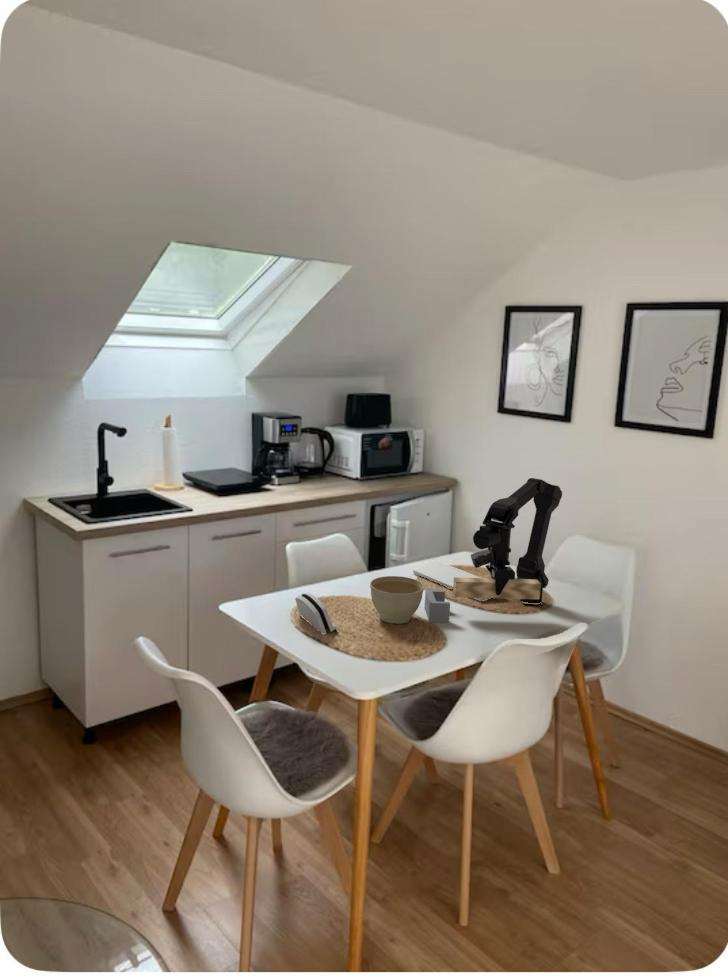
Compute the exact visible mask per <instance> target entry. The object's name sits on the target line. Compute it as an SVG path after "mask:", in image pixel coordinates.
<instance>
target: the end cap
mask: <svg viewBox="0 0 728 977" xmlns="http://www.w3.org/2000/svg"><path fill="white" fill-rule="evenodd" d="M424 591H425V593H424V595H425V596H424V610H425V614H426V617H427V620H428V622H429V623H450V612H451V610H450V609H451V602H450V601H445V600H446V599H445V598H446V590H445V589H424Z"/></svg>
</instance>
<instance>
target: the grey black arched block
mask: <svg viewBox="0 0 728 977" xmlns="http://www.w3.org/2000/svg"><path fill="white" fill-rule="evenodd" d="M295 602H296V607H297V609H298V612H299V616H300V615H302V616H303V617H304V618H305V619H306V620H308V621H309V622H310V623H311V624H312V625H313V626H315V627H316V628H317V629H318V630H319V631H320V632H322V633H326V632H327V633H328V632H330V633H333V631H334V630H336V631H338V632H339V629H338V627H337V625H335V624H334V623H332V620H331V617H330V615H329V613H328V609H327V608H326V606H325V605H324V604H323V603H322V602H321V600H319V598H317V597H316V596H315V595H314V594H312V593H310V592H304V593H302V594H301V595H297V596H296V597H295ZM305 619H304V620H305ZM306 620H305V621H306ZM312 625H311V626H312ZM313 626H312V627H313ZM319 631H318V632H319ZM336 631H335V632H336ZM320 632H319V633H320Z"/></svg>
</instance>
